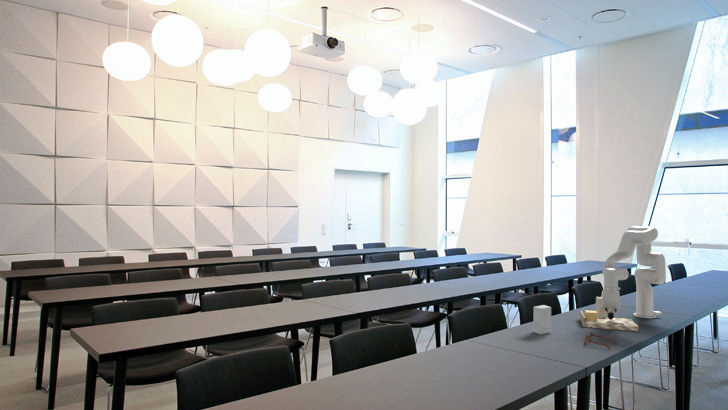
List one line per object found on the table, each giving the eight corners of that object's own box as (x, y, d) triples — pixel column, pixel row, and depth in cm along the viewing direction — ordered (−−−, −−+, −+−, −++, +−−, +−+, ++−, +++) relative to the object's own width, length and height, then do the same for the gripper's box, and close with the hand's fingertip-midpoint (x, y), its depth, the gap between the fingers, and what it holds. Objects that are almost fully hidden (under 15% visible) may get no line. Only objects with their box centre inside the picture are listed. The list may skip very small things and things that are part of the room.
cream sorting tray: (631, 323, 298) (631, 314, 298) (638, 331, 279) (638, 321, 279) (579, 319, 307) (580, 310, 307) (583, 326, 288) (583, 317, 288)
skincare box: (543, 330, 279) (543, 304, 279) (551, 333, 274) (551, 306, 274) (532, 332, 276) (532, 305, 276) (540, 334, 270) (540, 308, 270)
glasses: (590, 340, 261) (590, 331, 261) (617, 344, 253) (617, 335, 253) (583, 345, 251) (583, 336, 251) (611, 350, 243) (611, 340, 243)
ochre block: (595, 318, 298) (595, 310, 298) (597, 321, 292) (597, 312, 292) (585, 318, 300) (585, 310, 300) (586, 320, 294) (586, 312, 294)
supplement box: (608, 317, 314) (609, 296, 314) (611, 318, 309) (612, 298, 309) (595, 316, 315) (595, 296, 315) (598, 318, 310) (598, 297, 310)
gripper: (623, 288, 294) (623, 318, 294) (596, 287, 299) (596, 317, 299) (625, 290, 287) (625, 321, 287) (598, 289, 292) (597, 319, 292)
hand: (610, 319), depth 293 cm, fingers closed
